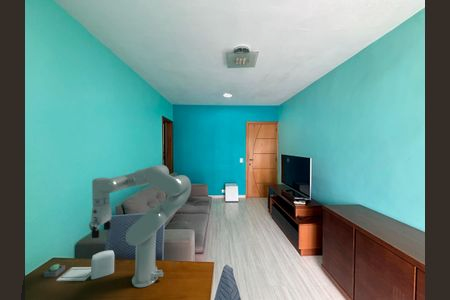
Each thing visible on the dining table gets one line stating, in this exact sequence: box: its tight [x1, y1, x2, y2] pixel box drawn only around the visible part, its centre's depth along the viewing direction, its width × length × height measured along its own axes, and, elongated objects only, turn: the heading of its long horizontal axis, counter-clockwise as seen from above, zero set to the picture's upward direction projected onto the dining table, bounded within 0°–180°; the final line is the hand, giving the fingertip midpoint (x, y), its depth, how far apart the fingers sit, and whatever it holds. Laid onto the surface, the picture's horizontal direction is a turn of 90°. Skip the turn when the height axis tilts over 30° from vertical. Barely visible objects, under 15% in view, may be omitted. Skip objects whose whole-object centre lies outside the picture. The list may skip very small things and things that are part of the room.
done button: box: [49, 263, 60, 272], centre depth 98 cm, size 4×4×2 cm
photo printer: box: [90, 249, 115, 280], centre depth 97 cm, size 10×4×12 cm, turn 123°
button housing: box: [43, 264, 66, 278], centre depth 98 cm, size 6×6×2 cm
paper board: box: [56, 266, 91, 282], centre depth 97 cm, size 14×10×1 cm
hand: (101, 233), depth 97 cm, fingers open, 9 cm apart
